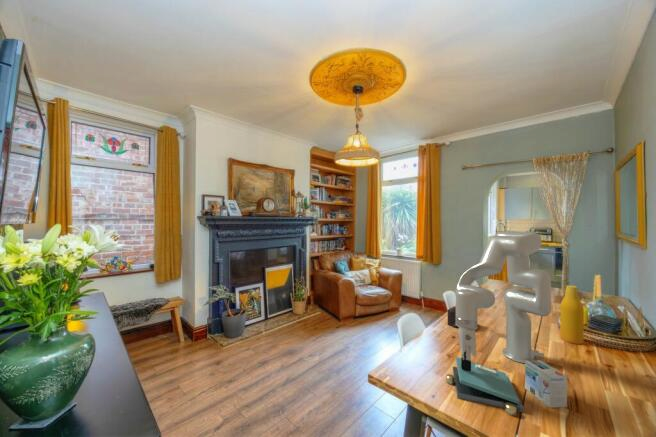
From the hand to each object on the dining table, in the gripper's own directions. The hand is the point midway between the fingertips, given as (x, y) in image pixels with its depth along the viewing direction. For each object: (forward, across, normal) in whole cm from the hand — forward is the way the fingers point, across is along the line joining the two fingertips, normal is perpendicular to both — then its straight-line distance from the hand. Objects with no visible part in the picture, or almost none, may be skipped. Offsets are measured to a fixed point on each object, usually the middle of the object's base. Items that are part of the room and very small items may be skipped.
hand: (466, 369), depth 102 cm
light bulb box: (+7, +3, -26) cm, 27 cm away
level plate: (+3, 0, -6) cm, 7 cm away
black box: (+6, +62, -6) cm, 63 cm away
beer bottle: (+6, +63, -58) cm, 86 cm away
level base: (+7, 0, -5) cm, 8 cm away
